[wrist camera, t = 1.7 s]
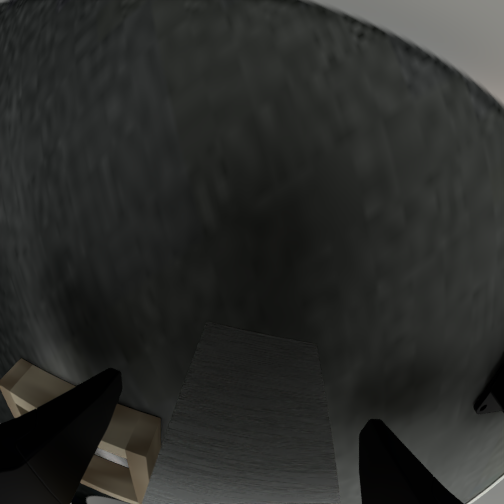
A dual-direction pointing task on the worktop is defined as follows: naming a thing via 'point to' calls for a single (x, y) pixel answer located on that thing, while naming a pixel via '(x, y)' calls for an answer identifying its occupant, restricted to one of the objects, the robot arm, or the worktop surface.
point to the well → (114, 440)
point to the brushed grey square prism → (248, 426)
